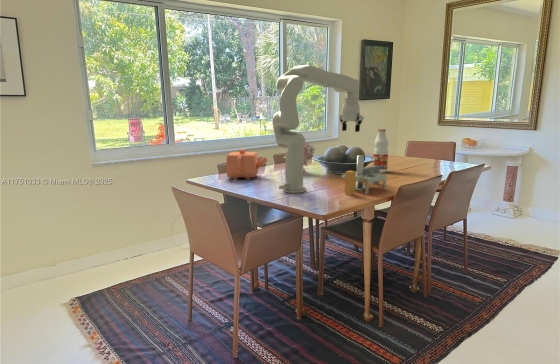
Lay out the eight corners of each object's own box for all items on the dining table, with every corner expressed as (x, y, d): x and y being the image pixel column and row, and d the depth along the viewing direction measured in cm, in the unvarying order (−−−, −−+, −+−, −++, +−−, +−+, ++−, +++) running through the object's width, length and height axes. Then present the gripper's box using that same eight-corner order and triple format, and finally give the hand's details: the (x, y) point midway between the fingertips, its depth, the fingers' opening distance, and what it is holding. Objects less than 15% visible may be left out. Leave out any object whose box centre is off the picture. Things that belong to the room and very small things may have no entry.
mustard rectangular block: (350, 195, 191) (350, 172, 188) (344, 194, 194) (345, 171, 191) (354, 194, 193) (355, 171, 191) (349, 192, 196) (349, 170, 193)
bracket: (363, 187, 206) (364, 169, 204) (359, 187, 208) (360, 168, 206) (378, 183, 215) (379, 166, 212) (375, 183, 217) (376, 165, 214)
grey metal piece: (367, 194, 192) (368, 159, 188) (341, 188, 205) (342, 156, 201) (385, 189, 202) (387, 156, 198) (360, 183, 215) (361, 153, 211)
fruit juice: (387, 170, 252) (389, 128, 246) (386, 173, 243) (388, 130, 237) (373, 169, 255) (375, 128, 249) (371, 172, 247) (373, 129, 240)
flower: (271, 170, 251) (279, 139, 237) (293, 162, 265) (302, 132, 251) (291, 186, 241) (301, 155, 227) (313, 177, 255) (324, 147, 241)
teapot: (270, 173, 247) (269, 147, 243) (265, 181, 225) (265, 152, 221) (233, 173, 249) (232, 147, 245) (225, 181, 227) (223, 152, 223)
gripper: (335, 101, 220) (335, 130, 224) (359, 101, 207) (358, 132, 211) (344, 101, 225) (343, 129, 228) (367, 101, 212) (366, 131, 215)
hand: (350, 131), depth 220 cm, fingers open, 9 cm apart
